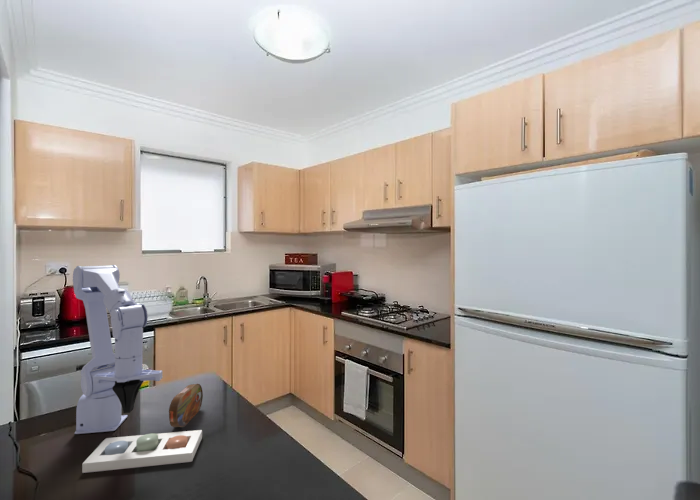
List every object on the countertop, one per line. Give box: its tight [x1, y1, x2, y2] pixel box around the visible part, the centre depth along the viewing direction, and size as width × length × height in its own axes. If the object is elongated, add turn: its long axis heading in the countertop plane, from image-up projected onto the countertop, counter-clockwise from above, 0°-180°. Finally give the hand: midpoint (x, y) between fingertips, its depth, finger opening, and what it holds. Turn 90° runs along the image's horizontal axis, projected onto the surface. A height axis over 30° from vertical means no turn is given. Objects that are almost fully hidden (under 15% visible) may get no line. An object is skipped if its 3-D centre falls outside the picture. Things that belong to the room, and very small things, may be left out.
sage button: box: [136, 433, 158, 452], centre depth 81 cm, size 4×4×2 cm
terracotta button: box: [167, 435, 188, 449], centre depth 82 cm, size 4×4×2 cm
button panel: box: [81, 429, 203, 474], centre depth 81 cm, size 22×10×2 cm, turn 101°
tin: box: [168, 383, 204, 428], centre depth 97 cm, size 15×3×8 cm, turn 179°
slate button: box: [105, 441, 128, 455], centre depth 80 cm, size 4×4×2 cm
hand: (128, 411), depth 84 cm, fingers closed
